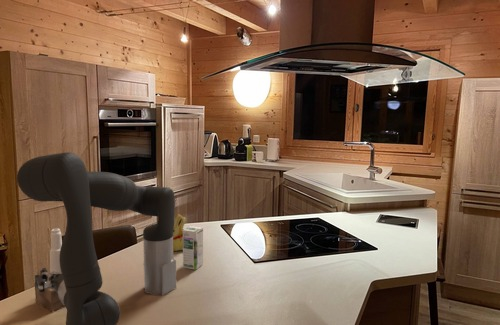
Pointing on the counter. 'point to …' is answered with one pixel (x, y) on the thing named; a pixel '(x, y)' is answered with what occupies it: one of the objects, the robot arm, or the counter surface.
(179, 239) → the chocolate bunny
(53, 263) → the cosmetic bottle
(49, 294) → the holder
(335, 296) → the counter surface
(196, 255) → the syrup box
